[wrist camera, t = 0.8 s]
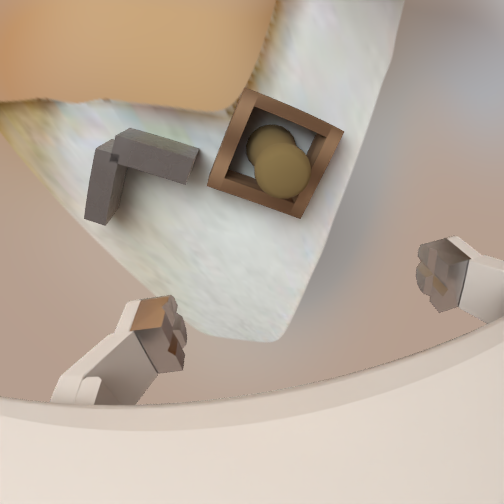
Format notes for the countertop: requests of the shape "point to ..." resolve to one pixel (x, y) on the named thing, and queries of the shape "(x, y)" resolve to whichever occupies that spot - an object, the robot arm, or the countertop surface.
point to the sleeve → (247, 185)
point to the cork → (278, 162)
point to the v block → (134, 156)
